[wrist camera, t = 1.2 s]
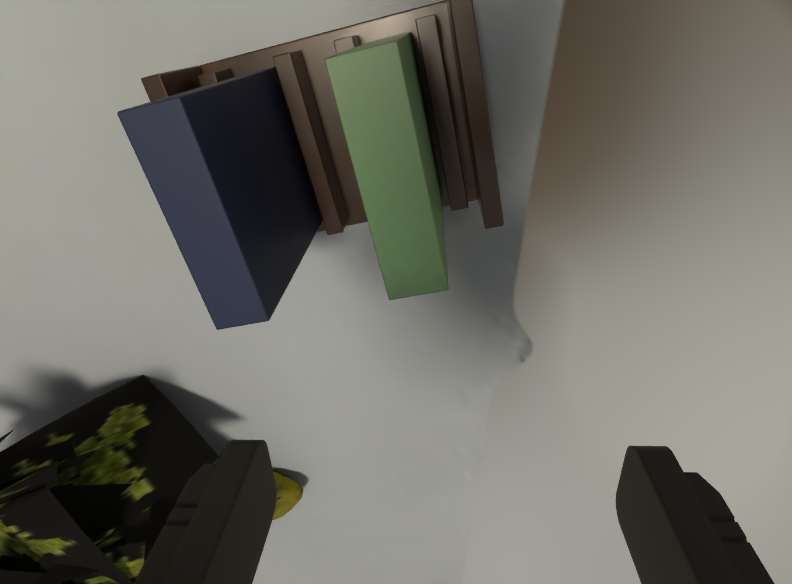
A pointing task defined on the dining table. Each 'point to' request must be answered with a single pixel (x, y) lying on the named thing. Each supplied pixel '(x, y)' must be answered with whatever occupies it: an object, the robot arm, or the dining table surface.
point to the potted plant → (100, 488)
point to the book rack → (320, 122)
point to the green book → (393, 161)
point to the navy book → (230, 189)
